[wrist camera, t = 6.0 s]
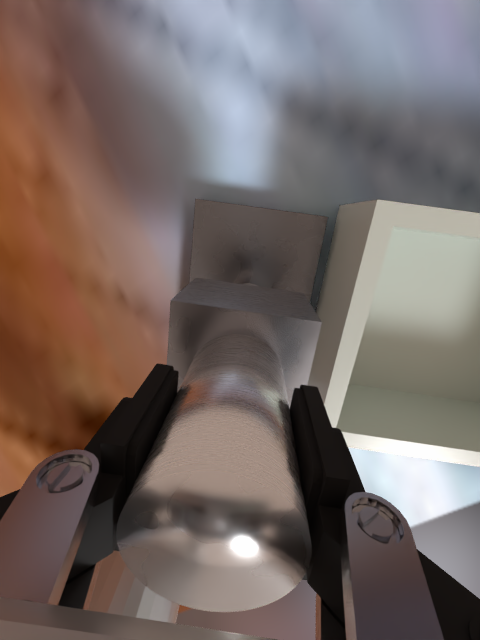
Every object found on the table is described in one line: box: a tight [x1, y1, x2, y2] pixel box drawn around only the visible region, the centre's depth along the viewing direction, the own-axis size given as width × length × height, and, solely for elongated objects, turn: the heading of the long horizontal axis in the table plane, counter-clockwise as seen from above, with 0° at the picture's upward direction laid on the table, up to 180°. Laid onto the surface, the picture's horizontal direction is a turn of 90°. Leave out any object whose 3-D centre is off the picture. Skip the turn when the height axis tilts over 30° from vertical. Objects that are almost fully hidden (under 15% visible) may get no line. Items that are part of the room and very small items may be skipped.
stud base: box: [189, 199, 328, 302], centre depth 23 cm, size 14×10×6 cm
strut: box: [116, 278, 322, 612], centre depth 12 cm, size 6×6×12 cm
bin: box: [307, 199, 480, 467], centre depth 22 cm, size 16×18×8 cm
